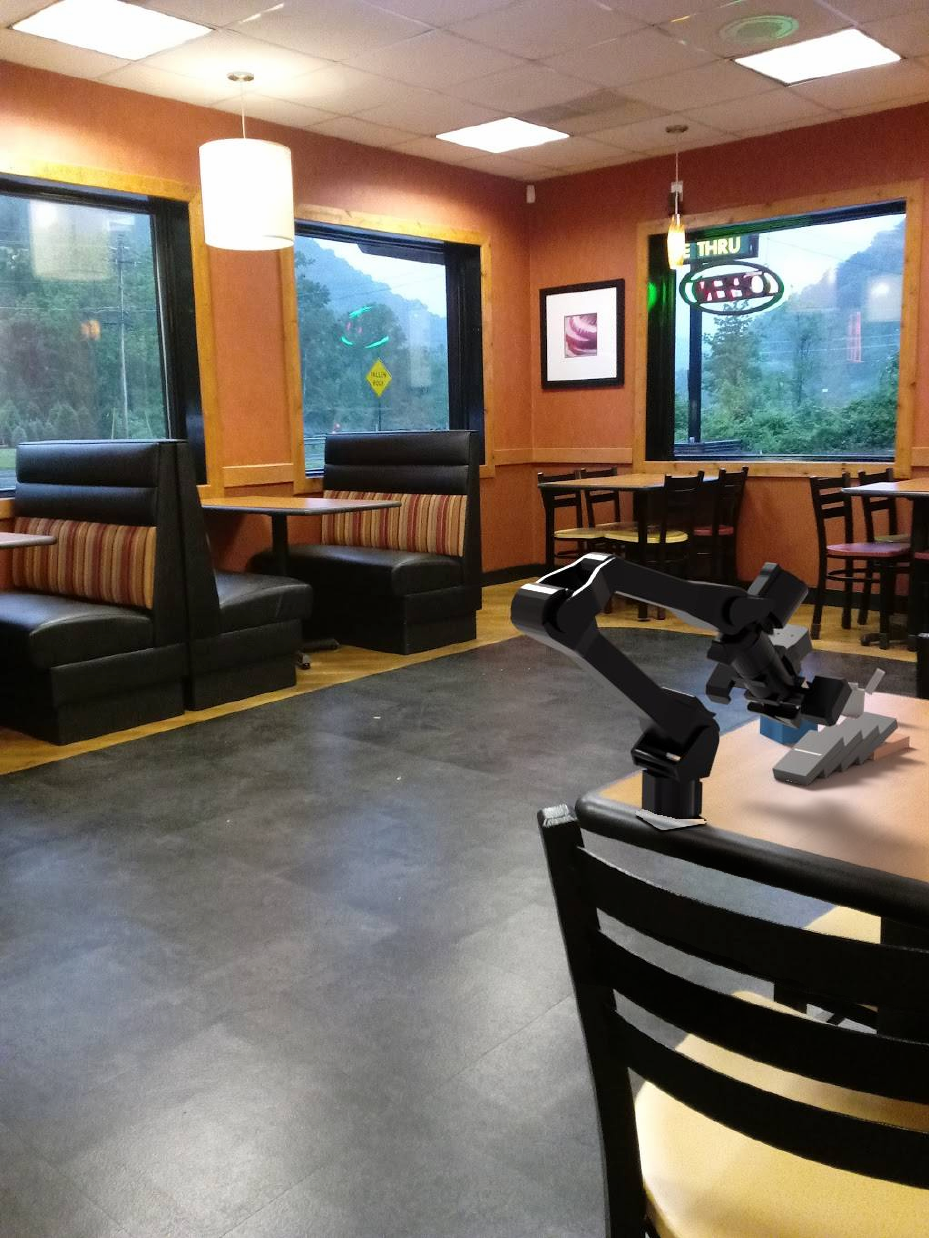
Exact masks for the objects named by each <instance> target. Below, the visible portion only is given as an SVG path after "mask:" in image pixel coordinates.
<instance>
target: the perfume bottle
mask: <svg viewBox="0 0 929 1238" xmlns="http://www.w3.org/2000/svg"><path fill="white" fill-rule="evenodd" d="M802 664H803V660H801V662H799V665H800V666H801V667H802ZM798 676H802V677H803V668H802V670H801V671H800V673H799V675H798ZM809 730H814V731H819V724H814V723H811V722H809V721H807V720H806V719H804V718H803V717H802V725H801V727H800V729H795V728H792V727H790V726H787V725H785V724H782V723H780V722H777V721H775V720H772V719H770V718H767V717H764V716H762V715H759V734H760V735H762V736H764V737H766V738H768V739H769V740H772V741H774V742H776V743H778V744H780V745H786V744H787V745H788V744H789V745H790V744H796V743H797V742H798V741H799V740H800V739H801V738H802V737H803V736H804V735H805V734H806V733H807V732H808V731H809Z"/></svg>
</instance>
